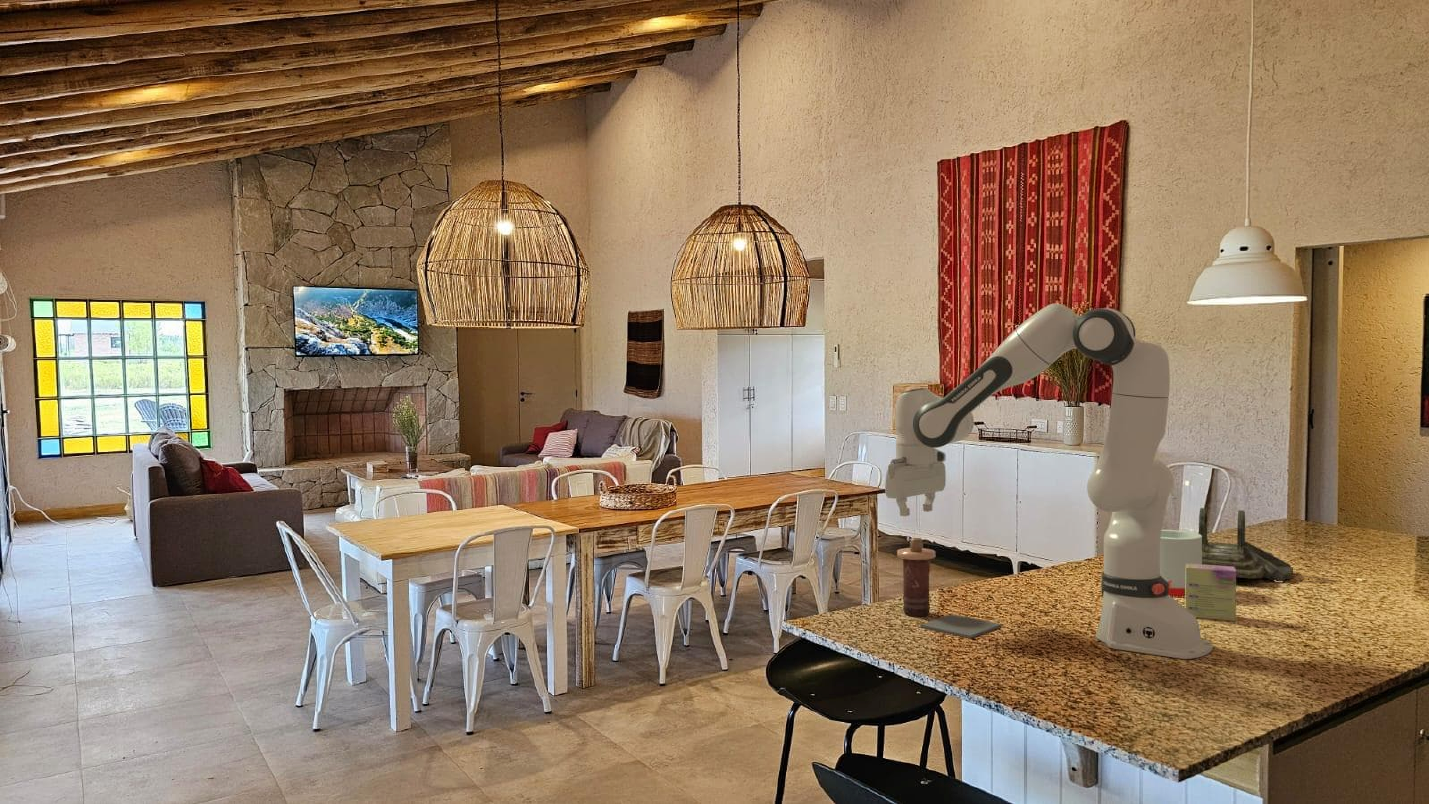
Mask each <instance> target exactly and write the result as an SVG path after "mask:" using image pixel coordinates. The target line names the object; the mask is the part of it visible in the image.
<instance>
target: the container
mask: <svg viewBox="0 0 1429 804" xmlns="http://www.w3.org/2000/svg"><path fill="white" fill-rule="evenodd" d="M1186 563H1189V564H1202V535H1200V534H1199V533H1196V532H1194V531H1187V530H1178V529H1162V530H1161V537H1160V576H1161V577H1162V578H1163V579H1165V580H1166V581H1167V582H1168V581H1170V580H1171V581H1172V582H1171V583H1170V585H1171V586H1169V595H1170V596H1179V597H1178V598H1183V597H1182V596H1185V568H1186Z"/></svg>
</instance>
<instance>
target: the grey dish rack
mask: <svg viewBox="0 0 1429 804" xmlns="http://www.w3.org/2000/svg"><path fill="white" fill-rule="evenodd" d="M1198 513H1199V514H1198V515H1199V516H1198V534H1200V535H1202V565H1217V566H1232V567H1235V570H1236V578H1240V579H1241V578H1243V579H1263V578H1265V579H1268V580H1269V581H1271V580H1276V581H1284V582H1285V580H1286V579H1287V580H1288V579H1292V576H1293V575H1294V567H1292V565H1291V564H1289V563H1288V562H1286V561H1284V560H1282V559H1281V558H1278V557H1277V556H1274V554H1273V553H1272V552H1267V551H1265V550H1263V549H1261V548H1259V547H1257V546H1255V545H1254V544H1251V543H1249V542H1248V541H1246V513H1245V510H1243V509H1242V510H1238V513H1237V527H1236V528H1237V530H1236V531H1237V543H1225V542H1215V541H1214V542H1213V541H1212V542H1210V541H1209V539H1208V512H1207V508H1206V507H1200V508H1199V512H1198Z"/></svg>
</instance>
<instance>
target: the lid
mask: <svg viewBox="0 0 1429 804" xmlns="http://www.w3.org/2000/svg"><path fill="white" fill-rule="evenodd" d="M909 540H910V541H909V547H905V548H899V549H897V550H896V555H897V558H900V559H902V560H903V559H909V560H927V559H930V560H931V559H935V558H936V550H934V549H930V548H925V547H923V539H922V538H921V537H911V538H910V539H909Z"/></svg>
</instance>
